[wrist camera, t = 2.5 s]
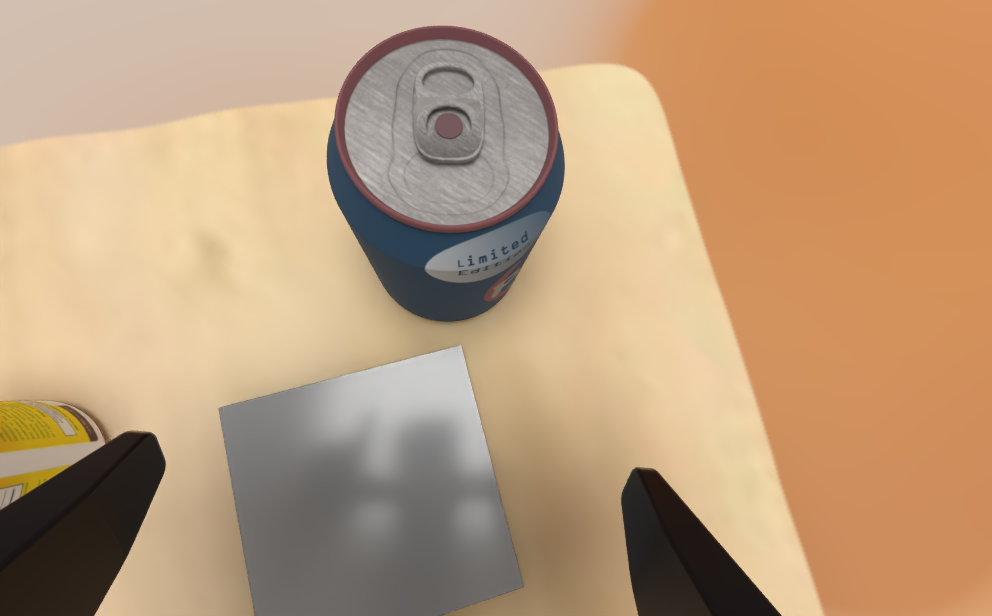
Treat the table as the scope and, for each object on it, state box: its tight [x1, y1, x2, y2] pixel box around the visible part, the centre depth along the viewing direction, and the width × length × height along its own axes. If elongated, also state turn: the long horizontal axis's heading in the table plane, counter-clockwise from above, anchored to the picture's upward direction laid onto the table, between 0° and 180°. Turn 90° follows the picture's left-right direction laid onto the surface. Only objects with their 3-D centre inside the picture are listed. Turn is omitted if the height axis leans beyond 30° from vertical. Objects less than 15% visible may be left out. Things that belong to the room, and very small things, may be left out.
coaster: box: [219, 345, 524, 616], centre depth 21 cm, size 11×11×1 cm
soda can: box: [327, 26, 565, 321], centre depth 18 cm, size 7×7×12 cm
